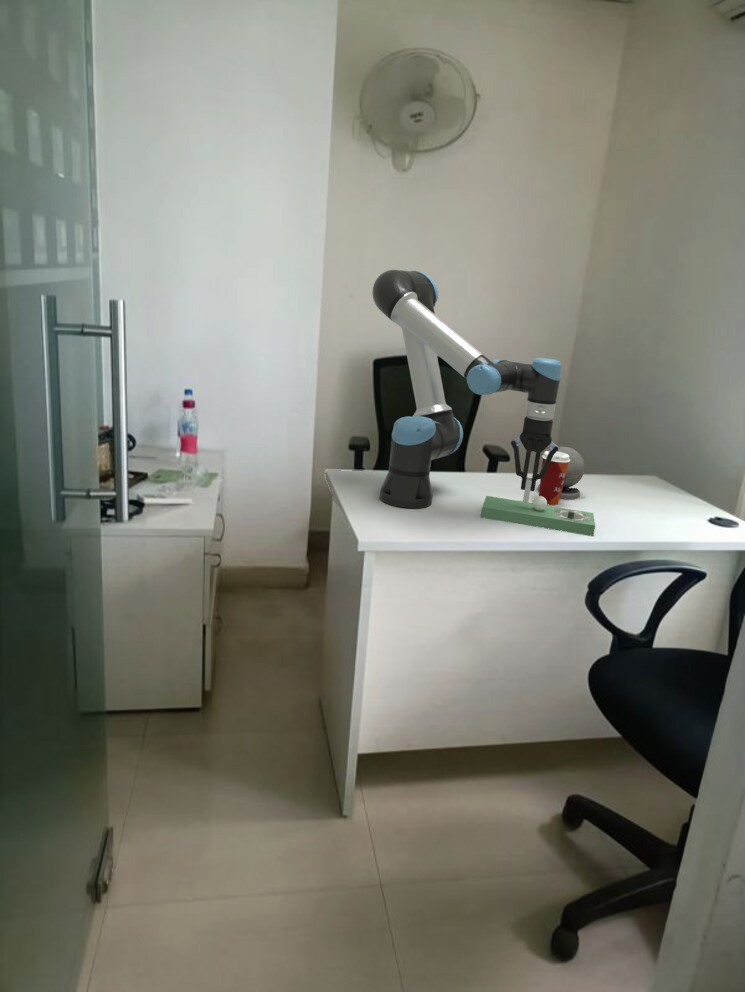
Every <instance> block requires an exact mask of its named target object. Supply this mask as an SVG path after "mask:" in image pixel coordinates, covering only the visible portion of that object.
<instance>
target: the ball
mask: <svg viewBox="0 0 745 992" xmlns="http://www.w3.org/2000/svg"><path fill="white" fill-rule="evenodd" d="M531 503H532V505H533V507H534V508H535V509H536V510H539V511H540V510H544V509H545V508H546V506H548V504H547V500H546V499H545V498H544V497H542V496H539V495H537V496H536V497H533V499H532V502H531Z"/></svg>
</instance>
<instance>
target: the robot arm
mask: <svg viewBox="0 0 745 992" xmlns="http://www.w3.org/2000/svg"><path fill="white" fill-rule="evenodd" d="M372 298H373V302H374V304H375V305H376V307H377V309H378V310H379V311H380V312H381V313H382V314H384V316H385V317H387V318H388V319H389V320H390V321H391V322H393V323H394V324H396V325H397V326H398V327H400V328H401V329H402V330H401V331H402V335H403V337H402V338H403V341H404V342H403V343H404V346H405V352H406V356H407V357H406V358H407V364H408V367H409V368H408V369H409V373H410V379H411V384H412V391H413V395H414V400H415V407H416V410H415V412H414V414H413V415H412V416H404V417H400V418H398V419H397V420H396V421H395V422H394V423H393V429H392V432H391V443H390V453H389V463H388V464H389V465H388V472H387V474H386V476H385V478H384V481H383V483H382V485H381V488H380V490H379V499H380V500H381V501H382V502H384V503H385V504H388V505H390V506H393V507H394V506H395V507H397V508H405V509H422V508H427V507H430V506H432V504H433V497H434V495H433V489H432V483H431V478H430V472H431V467H432V466H431V464H432V461H434V460H437V459H439V458H445V457H448V456H450V455H451V454H453V453H454V452H456V451H457V450H458V449H459V447H460V446H461V445H462V443H463V438H464V431H463V426H462V425H461V422H460V421H459V420H458V419H457V418H456V417H454V413H453V412H454V411H453V409H452V407H451V406H450V405H448V404H447V402H446V399H445V392H444V387H443V381H442V377H441V370H440V365H439V361H438V356H439V358H441V359H442V360H443V361H444V362H446V363H447V364H448V365H449V366H450V367H451V368H453V370H455V371H456V372H458V373H459V375H461V376H462V377H463V378H465V379H466V383H467V386H468V388H469V390H470V391H471V392H473V393H474V394H475V395H480V396H483V395H484V396H487V395H488V396H489V395H493V394H496V393H501V392H505V391H506V392H507V391H514V392H519V393H525V394H527V400H526V406H525V412H524V413H525V417H524V418H523V419H524V420H523V423H522V424H523V425H522V432H521V433H520V435H519V437H517V438H513V439H511V442H510V445H511V447H512V449H513V456H514V465H515V467H514V468H515V475H516V476H517V477H520V478H521V483H520V484H521V485H520V490H522V491H524V492H523V499H522V501H523V502H524V503H528V502H529V500H530V495H531V494H530V493H531V492H534V491H536V484H537V481H538V480H540V479H543V478H544V476H545V473H546V471H547V469H548V466H549V464H550V462H551V460H552V457H553V455H554V454H555V453H556V452H557V451H558V449H559V447H560V446H559V445H558V444H556V443H554V442H553V440H552V436H551V435H552V430H553V423H554V421H553V419H554V418H555V412H556V410H555V409H556V405H557V398H558V393H559V388H560V382H561V374H562V363H561V361H560V360H557V359H553V358H544V357H536V358H534V359H533V360H532V363H531V364H529V363H522V362H516V361H511V360H507V359H493V360H491V359H489V358H488V357H487V356H485V355H484V354H483V353H482V352H481V351H480V350H479V349H477V348H476V347H475V346H474V345H472V344H471V343H470V342H469V341H468V340H466V339H465V338H464V337H463V336H462V335H460V333H458V332H456V331H455V329H453V328H452V327H451V326H450V325H449V324H447V323H446V322H445V321H443V320H442V319H441V318H440V317H439V316H438V315H437V314H435V313H436V312H435V306H436V303H437V302H438V299H439V291H438V287H437V284H436V282H435V281H434V279H433V278H432V277H431V276H429V275H428V274H426V273H424V272H420V271H417V270H411V271H410V270H400V269H390V270H385V272H382V273H381V274H380V275H379V276H378V277H377V278H376V279H375V280H374V284H373V286H372ZM521 444H522V446H523V447H524V448H523V449H525V451H526V452H525V457H524V458H525V459H524V465H523V470H522V469H521V468H522V467H521V457H520V456H521V455H520V448H519V447H520V445H521ZM548 447H549V448H548ZM547 448H548V451H549V453H548V456H547V458H546V460H545V463H544V465H543V467H542V466H541V470H540V472H539V465H540V459H541V454H542V452H544V451H545V450H546V449H547ZM532 452H534V453H535V457H534V464H533V471H532V476H531V477H528V474H529V473H528V472H529V467H530V461H531V456H532V455H531V453H532ZM529 503H530V502H529Z"/></svg>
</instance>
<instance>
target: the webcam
mask: <svg viewBox="0 0 745 992" xmlns="http://www.w3.org/2000/svg"><path fill="white" fill-rule="evenodd" d="M558 447H559V449H558V451H557V452H562V453H566V454H568V455H569V459H570V462H569V463H568V467H567V471H566V475H565V479H564V483H563V487H562V491H561V495H560V499H559V500H565V501H566V500H568V501H570V500H577V499H579V498H580V494H581V492H580V490H579V488H578V487H573V486H575V485H577V484H578V483H579V482H581V479H582V478H583V477H584V476H583V475H584V473H585V465H586V464H585V461H584V458H583V456H582V455H581V454H580V452H578V451H577V450H576V449H574V448H573V447H572V448H571V447H568V446H558ZM539 488H540V483H539V484H538V487H537V491H538V493H539Z"/></svg>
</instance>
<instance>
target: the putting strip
mask: <svg viewBox="0 0 745 992" xmlns="http://www.w3.org/2000/svg"><path fill="white" fill-rule="evenodd" d="M480 518H482V519H489V520H496V521H502V522H507V523H512V524H513V523H514V524H519V525H524V524H525V525H526V526H530V525H531V526H532V527H536V526H538V528H542V527H544V528H543V529H548V528H549V529H550V530H554V529H555V530H554V531H560V530H562V531H561V532H566V531H567V532H568V533H574V534H579V535H584V536H590V535H591V537H594V535H595V534H594V533H595V530H596V529H595V528H596V522H595V515H594V512H589V511H583V510H578V509H577V510H576V509H571V508H565V507H559V506H554V505H547V506H546V508H545V509H544V510H540V511H539V510H536V509H535V508H534V507H533V505H532V502H528V503H524V502H523V500H522V501H521V500H515V499H511V498H510V499H508V498H503V497H498V496H492V495H486V496H485V498H484V500H483V504H482V509H481V514H480Z"/></svg>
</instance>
